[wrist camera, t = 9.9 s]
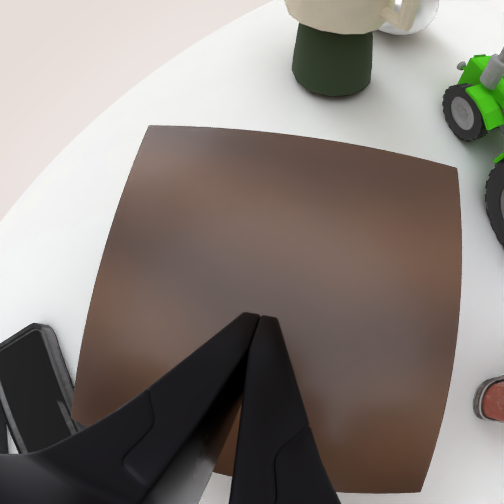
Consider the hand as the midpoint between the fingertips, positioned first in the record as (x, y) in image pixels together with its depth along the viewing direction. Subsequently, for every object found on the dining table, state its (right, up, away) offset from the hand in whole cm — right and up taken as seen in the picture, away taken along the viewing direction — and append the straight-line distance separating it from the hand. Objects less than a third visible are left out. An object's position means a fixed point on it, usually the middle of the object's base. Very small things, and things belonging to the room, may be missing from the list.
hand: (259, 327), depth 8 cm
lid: (+1, 0, +3) cm, 3 cm away
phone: (-14, -11, +9) cm, 20 cm away
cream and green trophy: (+6, +16, +15) cm, 23 cm away
